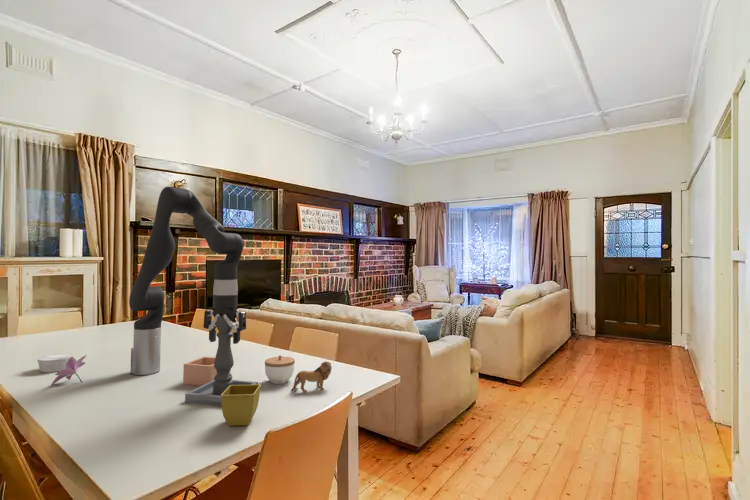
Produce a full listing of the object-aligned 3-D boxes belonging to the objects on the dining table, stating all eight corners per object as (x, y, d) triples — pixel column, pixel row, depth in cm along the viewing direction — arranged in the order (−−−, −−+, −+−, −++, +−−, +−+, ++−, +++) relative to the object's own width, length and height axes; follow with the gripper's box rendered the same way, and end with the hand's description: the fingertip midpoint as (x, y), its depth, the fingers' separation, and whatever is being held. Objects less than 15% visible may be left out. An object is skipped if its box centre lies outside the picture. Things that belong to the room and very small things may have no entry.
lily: (91, 378, 145) (78, 356, 145) (103, 371, 139) (89, 348, 139) (55, 397, 135) (40, 373, 135) (66, 390, 129) (51, 366, 129)
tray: (184, 401, 120) (185, 393, 120) (216, 385, 135) (216, 378, 135) (230, 406, 116) (230, 398, 116) (258, 389, 132) (258, 382, 132)
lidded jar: (300, 379, 144) (300, 354, 144) (281, 387, 134) (282, 360, 134) (277, 375, 148) (277, 350, 148) (257, 383, 138) (258, 357, 138)
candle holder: (225, 395, 122) (228, 317, 123) (208, 394, 124) (211, 316, 125) (236, 389, 128) (239, 314, 129) (220, 388, 130) (222, 313, 131)
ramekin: (41, 375, 144) (41, 361, 145) (33, 370, 151) (33, 356, 151) (77, 369, 153) (77, 355, 153) (68, 364, 160) (69, 351, 160)
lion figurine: (328, 384, 138) (328, 359, 139) (334, 388, 134) (334, 362, 134) (288, 390, 131) (288, 364, 131) (293, 395, 126) (293, 368, 127)
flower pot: (229, 416, 109) (229, 384, 110) (260, 415, 110) (261, 383, 110) (219, 429, 101) (220, 395, 101) (253, 429, 101) (254, 394, 102)
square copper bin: (183, 383, 137) (183, 364, 137) (203, 374, 147) (203, 356, 147) (210, 386, 134) (210, 366, 134) (228, 377, 145) (229, 358, 145)
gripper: (199, 293, 124) (197, 343, 124) (238, 295, 121) (237, 346, 121) (213, 291, 132) (212, 338, 131) (251, 293, 129) (250, 341, 128)
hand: (224, 342), depth 126 cm, fingers open, 8 cm apart
